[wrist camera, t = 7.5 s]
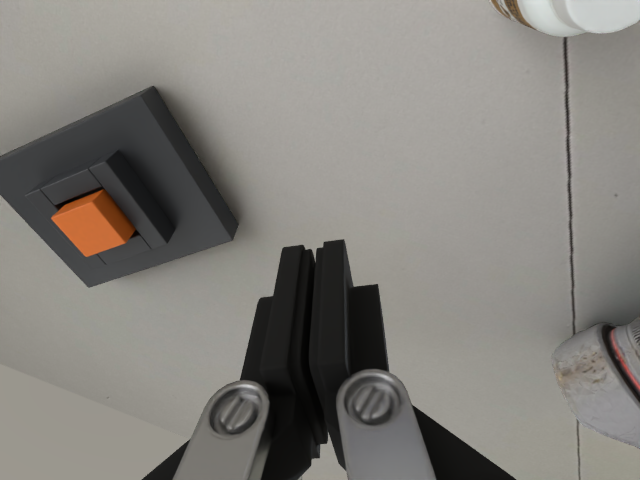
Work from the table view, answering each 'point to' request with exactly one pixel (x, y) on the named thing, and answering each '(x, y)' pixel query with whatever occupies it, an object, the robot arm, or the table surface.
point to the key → (94, 223)
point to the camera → (603, 379)
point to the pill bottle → (571, 15)
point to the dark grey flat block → (120, 187)
